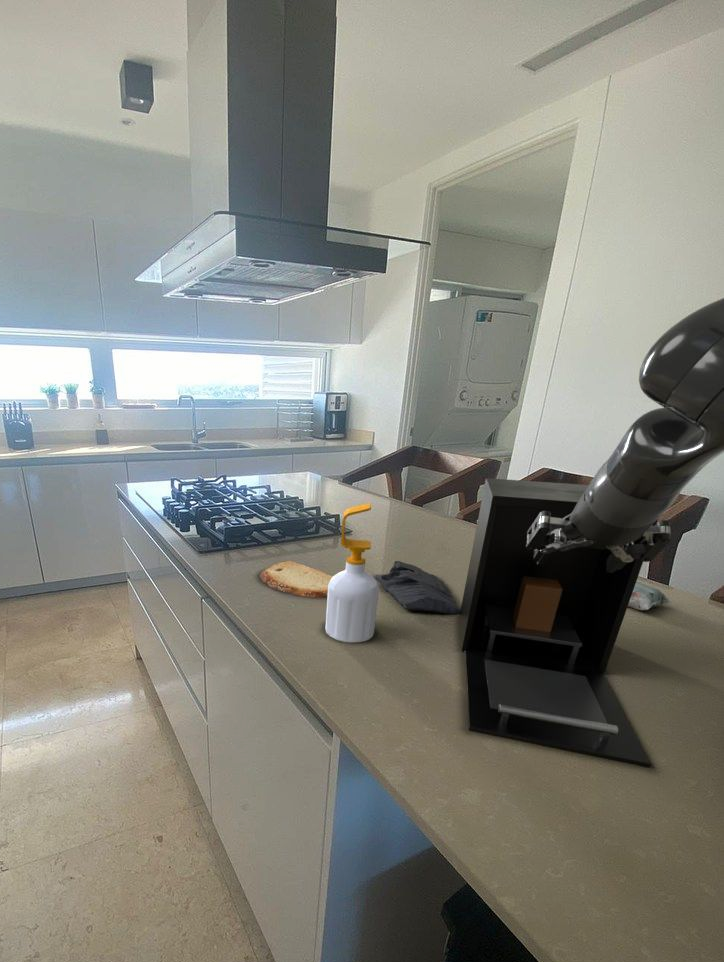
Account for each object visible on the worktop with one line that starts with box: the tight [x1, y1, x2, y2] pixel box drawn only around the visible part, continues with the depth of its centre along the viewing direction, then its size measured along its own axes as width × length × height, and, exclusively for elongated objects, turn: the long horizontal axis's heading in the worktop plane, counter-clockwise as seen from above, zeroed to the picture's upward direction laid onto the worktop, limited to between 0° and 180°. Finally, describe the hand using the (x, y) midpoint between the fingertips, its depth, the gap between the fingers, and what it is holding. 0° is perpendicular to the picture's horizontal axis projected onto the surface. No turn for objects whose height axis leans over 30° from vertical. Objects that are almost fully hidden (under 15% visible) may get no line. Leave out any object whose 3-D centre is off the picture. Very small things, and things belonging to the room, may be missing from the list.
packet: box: [513, 576, 563, 632], centre depth 84 cm, size 6×4×8 cm
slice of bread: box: [259, 560, 333, 598], centre depth 113 cm, size 18×18×4 cm
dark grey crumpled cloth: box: [375, 560, 461, 615], centre depth 108 cm, size 15×22×5 cm
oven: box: [459, 477, 659, 769], centre depth 74 cm, size 22×38×28 cm, turn 162°
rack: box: [483, 605, 582, 664], centre depth 87 cm, size 14×11×4 cm
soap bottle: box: [325, 502, 380, 644], centre depth 87 cm, size 9×9×25 cm
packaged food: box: [627, 581, 671, 611], centre depth 105 cm, size 9×12×5 cm
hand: (573, 562), depth 67 cm, fingers open, 8 cm apart
